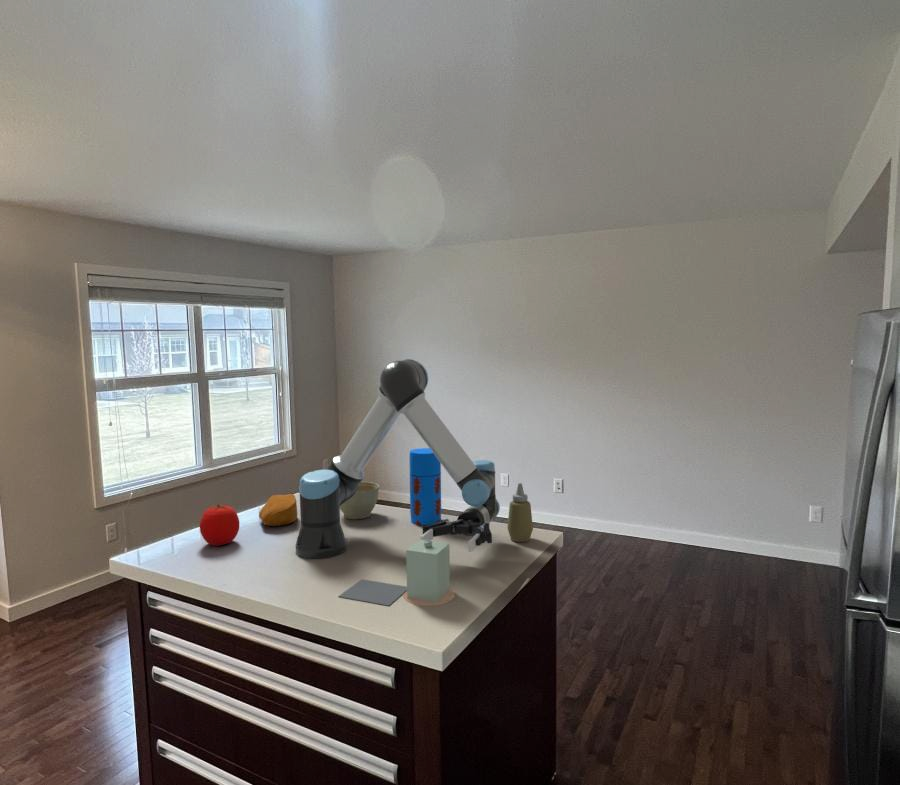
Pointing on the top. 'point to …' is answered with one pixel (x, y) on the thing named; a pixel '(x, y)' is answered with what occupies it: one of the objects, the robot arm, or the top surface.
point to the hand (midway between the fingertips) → (445, 544)
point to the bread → (279, 510)
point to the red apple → (219, 525)
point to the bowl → (445, 599)
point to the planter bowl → (361, 501)
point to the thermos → (425, 487)
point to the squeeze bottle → (520, 517)
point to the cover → (428, 570)
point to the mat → (374, 592)
